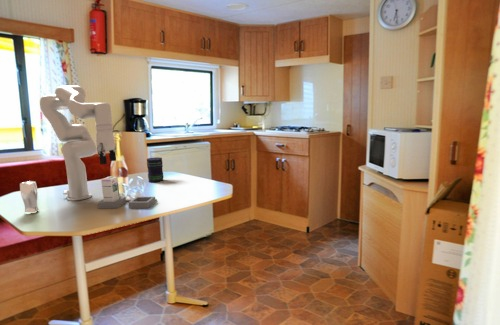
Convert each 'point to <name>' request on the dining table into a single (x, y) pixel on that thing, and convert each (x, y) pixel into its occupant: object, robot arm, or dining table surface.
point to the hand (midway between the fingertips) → (108, 162)
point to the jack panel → (129, 202)
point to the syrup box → (110, 189)
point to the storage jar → (155, 170)
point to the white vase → (29, 195)
